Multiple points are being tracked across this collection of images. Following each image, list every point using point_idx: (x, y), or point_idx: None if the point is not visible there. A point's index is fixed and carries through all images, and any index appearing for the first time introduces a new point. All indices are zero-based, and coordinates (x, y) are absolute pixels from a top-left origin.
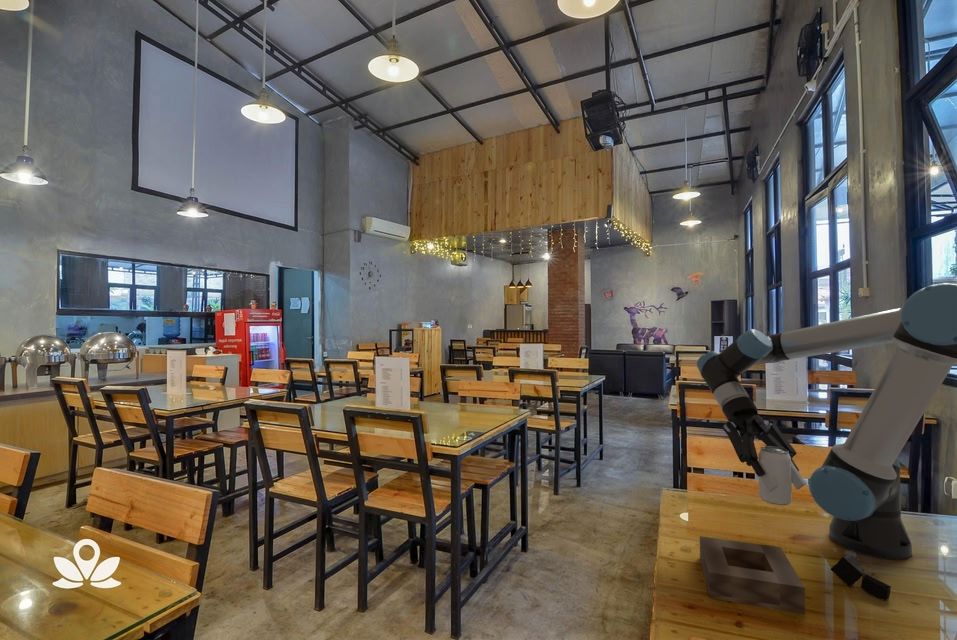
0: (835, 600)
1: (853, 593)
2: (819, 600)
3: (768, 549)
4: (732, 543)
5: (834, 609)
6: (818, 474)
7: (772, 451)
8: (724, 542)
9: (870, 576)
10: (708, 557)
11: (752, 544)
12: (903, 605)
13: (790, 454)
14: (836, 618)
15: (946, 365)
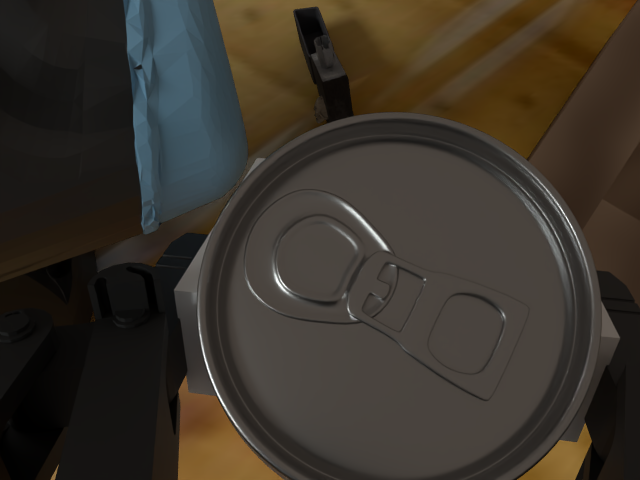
0: (455, 70)
1: (367, 83)
2: (502, 81)
3: None
4: None
5: (499, 41)
6: (217, 22)
7: (457, 273)
8: None
9: (306, 48)
10: None
11: (596, 269)
12: (293, 13)
13: (144, 277)
14: (533, 12)
15: None
